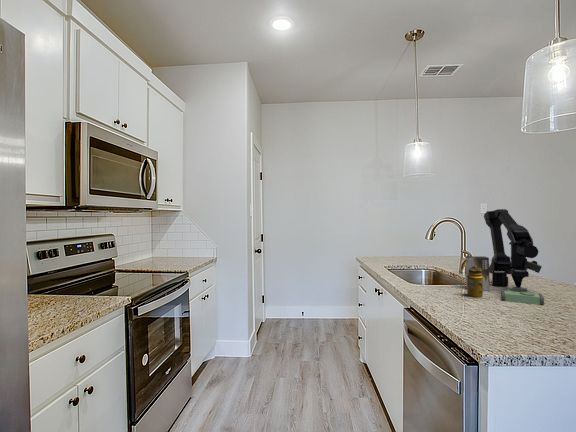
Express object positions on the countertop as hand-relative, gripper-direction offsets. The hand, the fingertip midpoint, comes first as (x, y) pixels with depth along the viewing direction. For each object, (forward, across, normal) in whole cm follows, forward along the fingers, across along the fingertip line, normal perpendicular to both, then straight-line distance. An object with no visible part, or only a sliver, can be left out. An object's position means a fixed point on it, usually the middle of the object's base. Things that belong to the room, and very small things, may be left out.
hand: (518, 288), depth 153 cm
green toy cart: (+2, -12, 0) cm, 12 cm away
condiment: (+2, -16, +18) cm, 24 cm away
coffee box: (+2, +1, +16) cm, 17 cm away
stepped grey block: (+2, -8, 0) cm, 8 cm away
